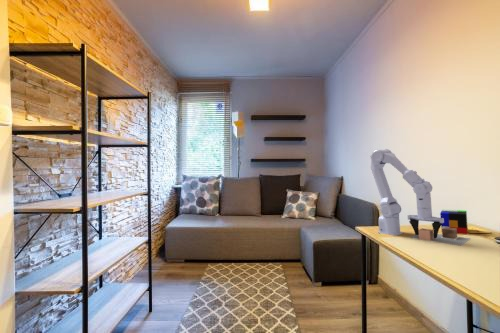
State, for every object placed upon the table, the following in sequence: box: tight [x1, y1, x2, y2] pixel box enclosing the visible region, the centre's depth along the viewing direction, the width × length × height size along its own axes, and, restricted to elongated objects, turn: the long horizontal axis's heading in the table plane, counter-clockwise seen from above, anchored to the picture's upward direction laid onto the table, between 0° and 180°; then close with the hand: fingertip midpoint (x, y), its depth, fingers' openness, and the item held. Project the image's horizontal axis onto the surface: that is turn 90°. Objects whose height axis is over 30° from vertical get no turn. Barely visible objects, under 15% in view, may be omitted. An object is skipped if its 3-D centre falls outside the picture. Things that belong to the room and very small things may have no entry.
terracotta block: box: [418, 228, 434, 241], centre depth 126 cm, size 4×4×4 cm
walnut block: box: [441, 227, 458, 239], centre depth 125 cm, size 4×4×4 cm
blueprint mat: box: [409, 233, 471, 247], centre depth 125 cm, size 20×14×1 cm
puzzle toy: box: [439, 209, 469, 235], centre depth 135 cm, size 10×10×10 cm
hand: (426, 236), depth 126 cm, fingers open, 7 cm apart
